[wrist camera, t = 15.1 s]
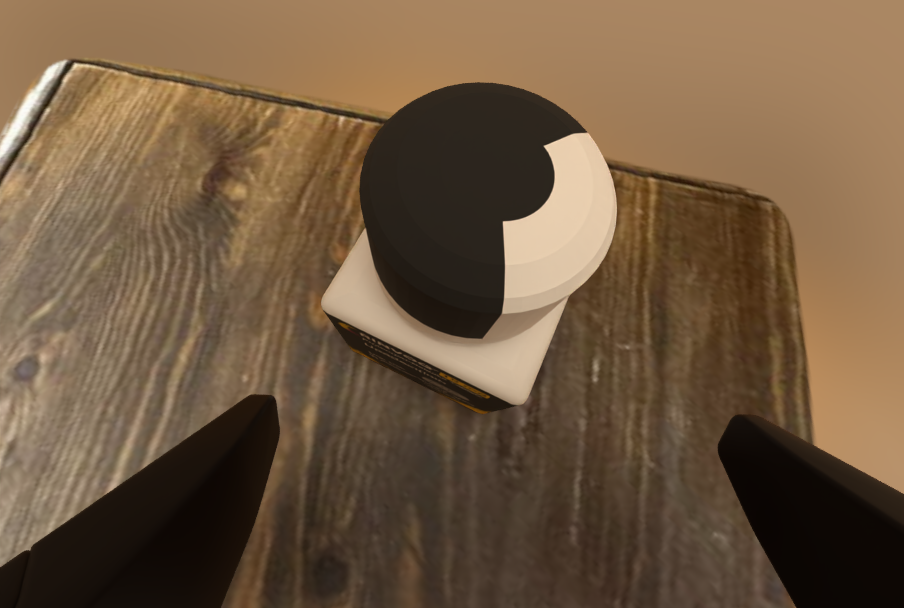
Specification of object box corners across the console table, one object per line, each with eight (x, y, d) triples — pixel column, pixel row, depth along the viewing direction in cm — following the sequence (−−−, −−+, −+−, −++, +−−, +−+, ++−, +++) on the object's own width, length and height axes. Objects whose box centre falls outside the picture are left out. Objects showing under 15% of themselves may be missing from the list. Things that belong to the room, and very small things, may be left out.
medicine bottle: (347, 348, 19) (257, 230, 8) (416, 227, 22) (423, -2, 10) (484, 417, 19) (597, 396, 8) (540, 287, 21) (692, 119, 10)
